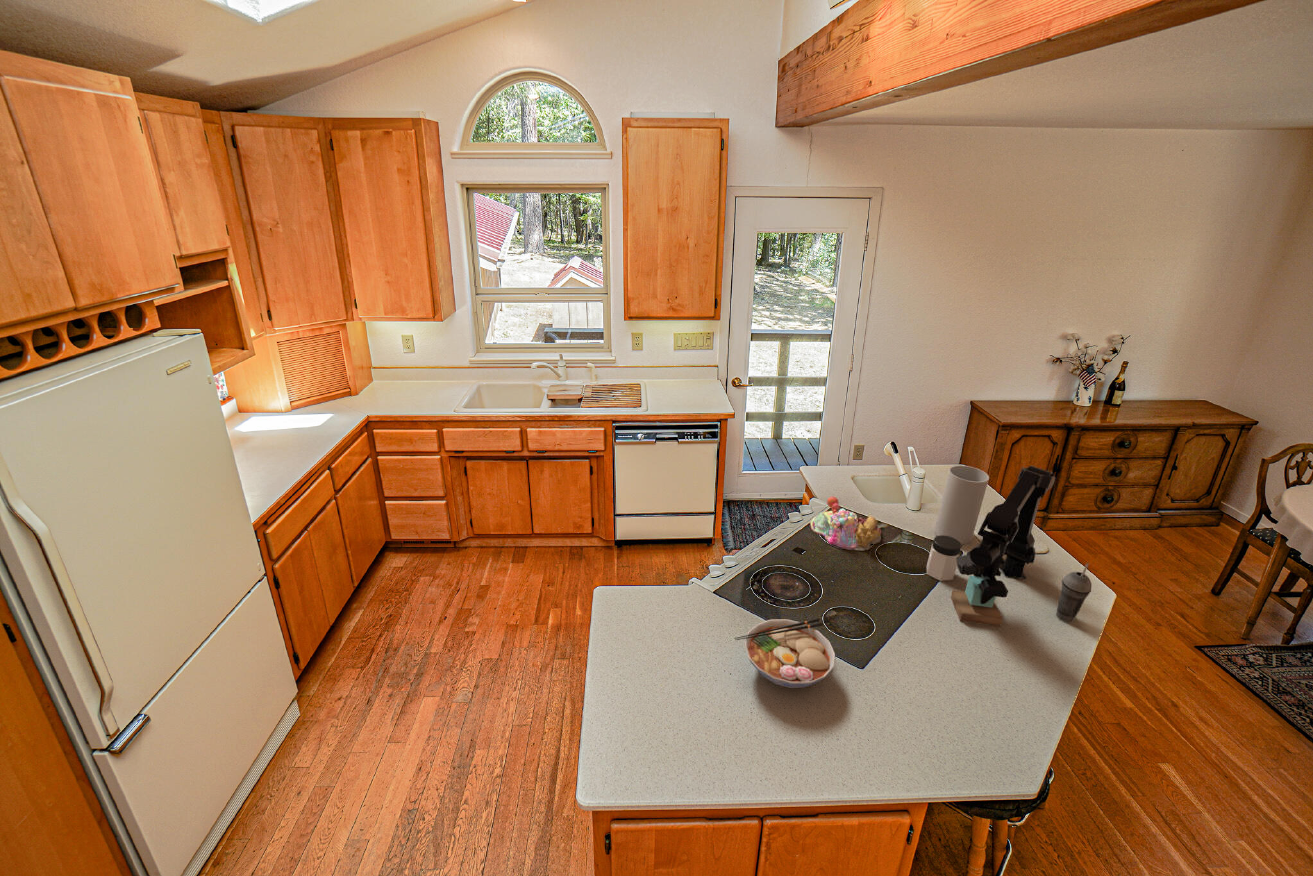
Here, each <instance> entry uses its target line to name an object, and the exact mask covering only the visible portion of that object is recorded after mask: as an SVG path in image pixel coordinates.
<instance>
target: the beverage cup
mask: <svg viewBox="0 0 1313 876" xmlns="http://www.w3.org/2000/svg"><path fill="white" fill-rule="evenodd" d="M1089 565H1090V563H1088V562H1087V563H1086V564H1085V566H1084V568H1083V571H1082V572H1081V571H1072V572H1069V573H1067V574H1065V576H1064V577H1063V579H1062V580H1061V589H1060V596H1059V599H1058V604H1057V606H1056V607H1057V608H1056V613H1055V617H1056V618H1057V619H1059V620H1060V621H1062V622H1065V623H1073V622H1074V620H1075V619H1076V618H1077V616H1078V614H1079V612H1080V610H1081V608H1082V606H1083V604H1084V602H1085V600H1086V599H1087V597H1088V596H1089V594H1090V593H1091V592H1092V581H1091V579H1090V577H1089V576H1088V575H1087V574H1085V573H1086V571H1087V568H1088V567H1089Z"/></svg>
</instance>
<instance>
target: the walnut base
mask: <svg viewBox="0 0 1313 876" xmlns="http://www.w3.org/2000/svg"><path fill="white" fill-rule="evenodd" d="M950 600H951V602H952V605H953V607H954V610H955V612H956V615H957V618H958V620H959V622H961V623H962V622H963V623H970V624H975V625H976V624H979V625H985V626H992V627H993V626H994V627H1001V626H1002V622H1003V619H1004V618H1003V616H1002V614H1001V611H1000V609H999V608H998V605H997V604H996V602H995V601H994V604H993V607H984V606H977V605H970V603H969V600H968V598H967V596H966V593H965V590H958V589H952V592H951V595H950Z"/></svg>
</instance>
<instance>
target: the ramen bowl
mask: <svg viewBox="0 0 1313 876" xmlns="http://www.w3.org/2000/svg"><path fill="white" fill-rule="evenodd" d="M823 625H824V624H823V622H820V618H817V617H816V618H814V619H809V620H806V621H801V622H800V621H795V620H792V619H787V618H783V619H781V618H780V619H779V618H778V619H768V620H766V621H762V622H760V623H757V624H755V625H754V627H752V628H751V629H750V630H749V631H748V632H747V634H745V635H742V636H738V637H734V640H735V641H739V640H744V646H745V647H744V648H745V651H746V655H747V658H748V660H749V662H750V663H751V664H752V666H753V667H754V668H755V669H756V670H757V671H758V673H759V674H760V675H761V676H762V677H764V678H766V679H767V680H768V681H770V682H772V683H774V684H775V685H778V686H782V687H786V688H790V689H793V688H798V689H799V688H806V687H809V686H811V685H814V684H816V683H818V682H820V681H822V680H823V679H825V677H827V676H828V674H829V673H830V671H832V670H833V668H834V667H835V663H836V662H835V661H836V653H835V650H834V648H833V646H832V643H831V642H830V640H829V639H828V638H826V637H825V636H824V635H823V634H822V633H821V632H820V631H819V630H818V629H815V628H817V627H823Z"/></svg>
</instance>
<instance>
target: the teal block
mask: <svg viewBox="0 0 1313 876" xmlns="http://www.w3.org/2000/svg"><path fill="white" fill-rule="evenodd" d="M984 579H986V578H984V577H978V576H974V575H968V580H967V584H966V587H965V590H964V591H965V593H966V596H967V598H968V600H969V603H970V605H977V606H984V607H993V604H994V601H995V600H996V596H994V597H993V598H992V599H990V600H989V601H988V602H986V603H985V604H981V603H980V599H981V590H980V588H979V586H978V584H980V583H981V581H982V580H984Z"/></svg>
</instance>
